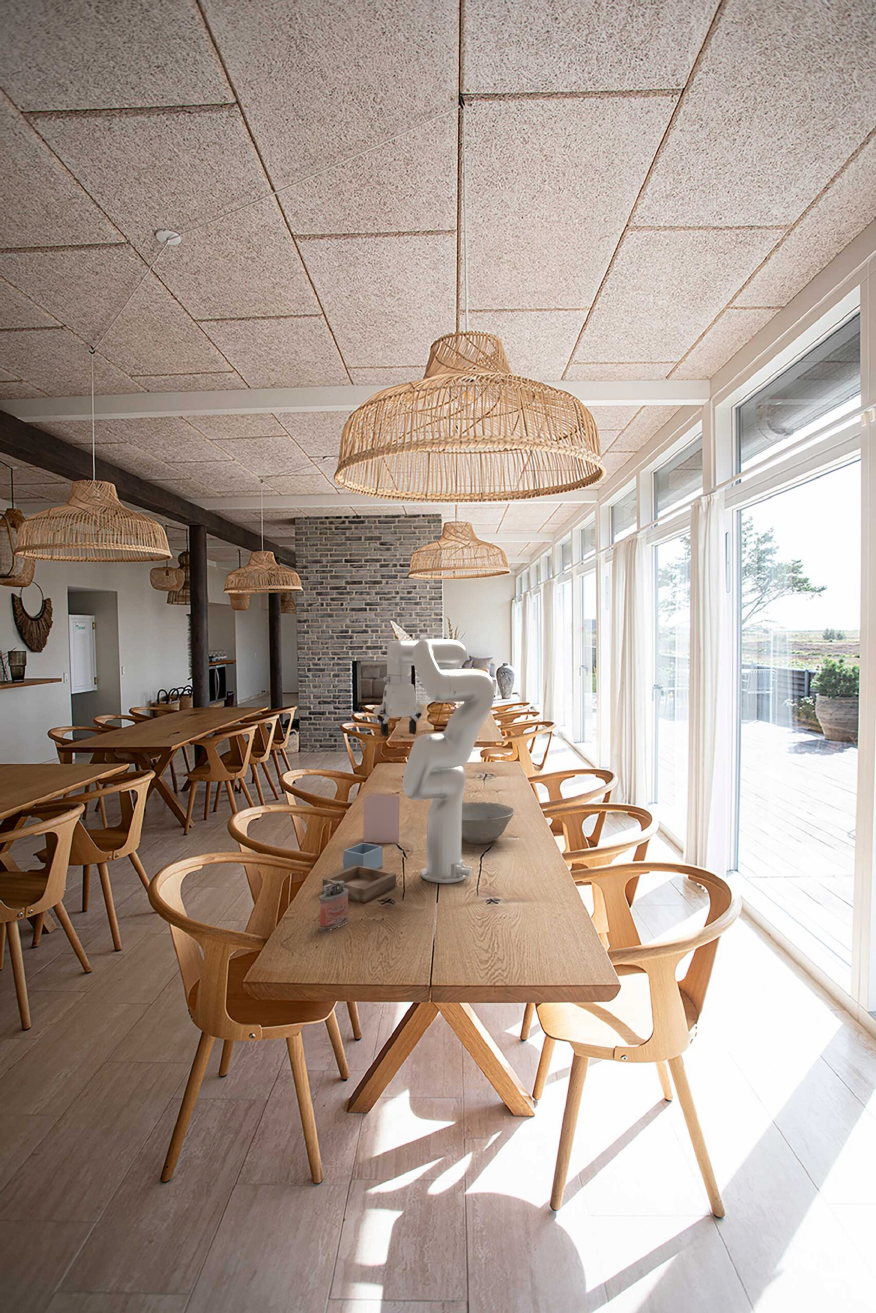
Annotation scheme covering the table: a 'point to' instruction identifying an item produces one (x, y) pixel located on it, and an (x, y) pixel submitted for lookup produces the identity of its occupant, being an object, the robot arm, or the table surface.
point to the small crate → (363, 856)
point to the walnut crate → (363, 882)
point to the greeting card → (381, 818)
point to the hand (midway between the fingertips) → (398, 734)
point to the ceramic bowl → (484, 821)
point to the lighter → (333, 906)
